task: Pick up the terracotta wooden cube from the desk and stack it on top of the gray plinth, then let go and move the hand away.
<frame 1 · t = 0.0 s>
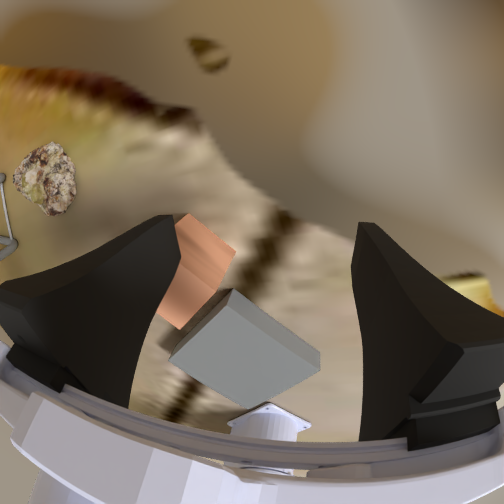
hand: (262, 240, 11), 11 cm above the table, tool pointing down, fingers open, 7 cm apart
terracotta cube: (196, 252, 24), on the table
gray plinth: (244, 350, 28), on the table
mineral rock: (51, 176, 23), on the table
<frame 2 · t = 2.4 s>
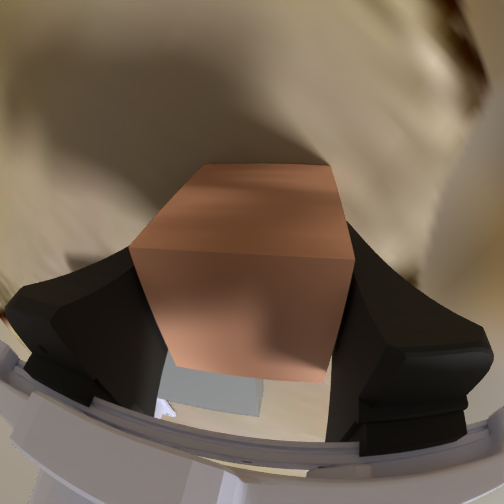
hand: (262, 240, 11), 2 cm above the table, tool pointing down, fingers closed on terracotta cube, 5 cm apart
terracotta cube: (267, 219, 12), on the table, touching gripper
gray plinth: (184, 344, 19), on the table
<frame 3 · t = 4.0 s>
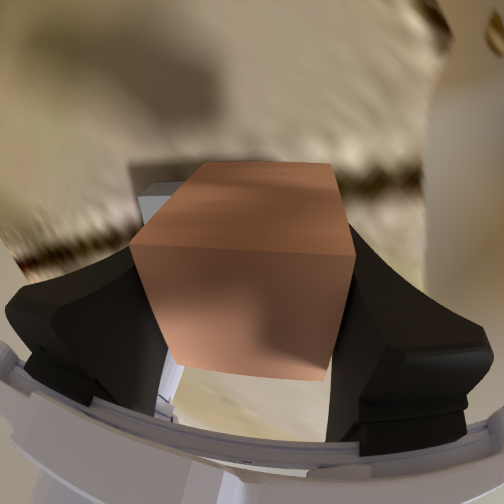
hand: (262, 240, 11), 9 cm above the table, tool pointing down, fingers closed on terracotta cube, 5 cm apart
terracotta cube: (267, 217, 12), point 7 cm above the table, touching gripper
gray plinth: (230, 246, 22), on the table
when the fingers open (6 cm above the table, at t = 6.0 s): terracotta cube drops 1 cm, resting on gray plinth.
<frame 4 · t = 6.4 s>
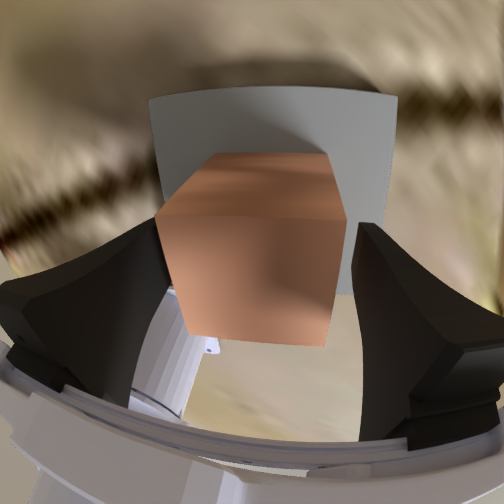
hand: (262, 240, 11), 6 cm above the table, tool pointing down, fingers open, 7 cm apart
terracotta cube: (271, 203, 13), point 2 cm above the table, touching gray plinth
gray plinth: (275, 184, 15), on the table
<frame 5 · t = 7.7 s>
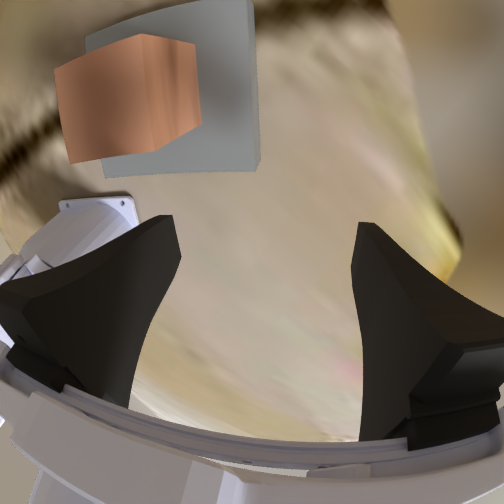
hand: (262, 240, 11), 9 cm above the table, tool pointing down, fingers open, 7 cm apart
terracotta cube: (159, 89, 14), point 2 cm above the table, touching gray plinth
gray plinth: (175, 87, 16), on the table
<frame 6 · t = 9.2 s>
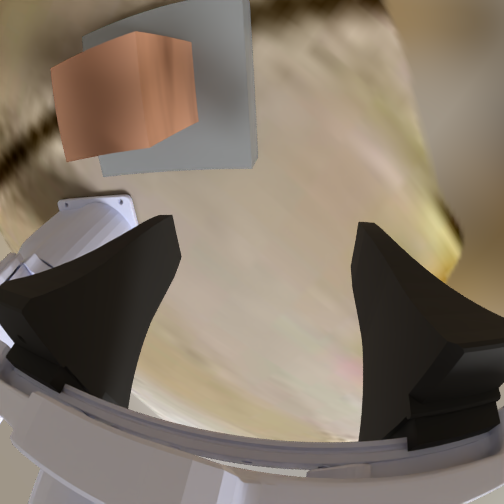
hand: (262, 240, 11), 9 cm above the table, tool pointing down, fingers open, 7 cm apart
terracotta cube: (156, 87, 14), point 2 cm above the table, touching gray plinth
gray plinth: (172, 86, 16), on the table
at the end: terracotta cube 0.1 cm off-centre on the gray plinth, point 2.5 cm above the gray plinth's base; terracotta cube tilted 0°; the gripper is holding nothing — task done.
